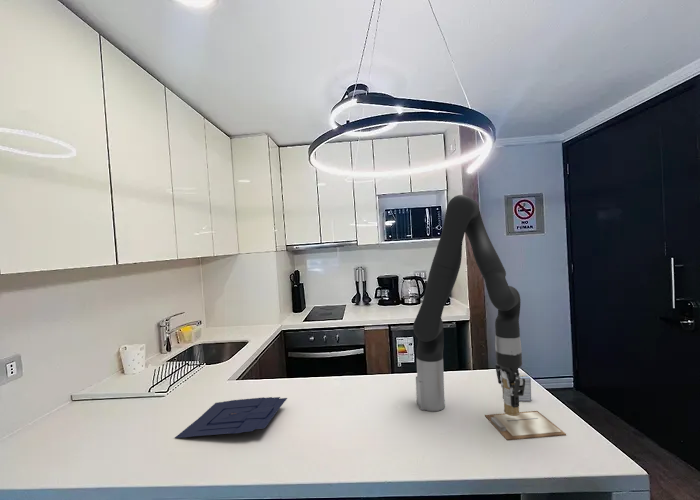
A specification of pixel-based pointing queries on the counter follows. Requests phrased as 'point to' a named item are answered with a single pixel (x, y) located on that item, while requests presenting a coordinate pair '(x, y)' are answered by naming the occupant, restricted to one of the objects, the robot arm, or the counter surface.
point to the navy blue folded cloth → (234, 417)
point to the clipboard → (524, 425)
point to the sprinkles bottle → (508, 398)
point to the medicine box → (526, 387)
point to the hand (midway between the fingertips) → (510, 402)
